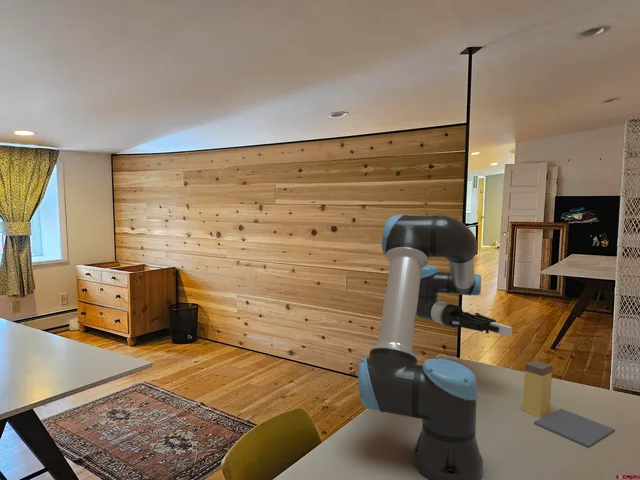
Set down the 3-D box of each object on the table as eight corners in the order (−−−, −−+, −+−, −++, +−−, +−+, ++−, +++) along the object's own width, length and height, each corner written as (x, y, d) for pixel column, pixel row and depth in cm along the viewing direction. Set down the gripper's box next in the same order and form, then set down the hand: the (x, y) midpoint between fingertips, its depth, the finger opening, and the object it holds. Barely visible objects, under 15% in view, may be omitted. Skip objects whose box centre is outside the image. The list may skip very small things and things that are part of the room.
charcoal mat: (588, 447, 105) (588, 445, 105) (533, 423, 116) (533, 422, 116) (614, 431, 113) (614, 429, 113) (561, 410, 124) (561, 408, 124)
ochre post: (540, 418, 120) (542, 369, 118) (523, 410, 124) (525, 363, 123) (549, 413, 122) (552, 365, 121) (532, 406, 126) (534, 360, 125)
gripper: (459, 321, 153) (522, 340, 133) (434, 328, 145) (496, 348, 126) (460, 301, 152) (523, 316, 132) (435, 306, 145) (497, 323, 125)
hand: (510, 331), depth 129 cm, fingers closed
